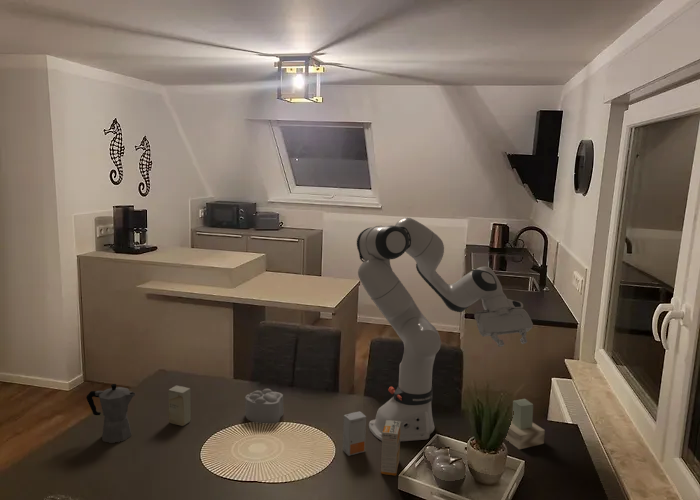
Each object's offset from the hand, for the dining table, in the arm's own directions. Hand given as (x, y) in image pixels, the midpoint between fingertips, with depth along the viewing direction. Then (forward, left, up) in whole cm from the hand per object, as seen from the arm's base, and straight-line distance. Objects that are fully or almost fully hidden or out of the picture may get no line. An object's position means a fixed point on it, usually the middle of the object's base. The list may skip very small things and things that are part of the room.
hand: (513, 344), depth 182 cm
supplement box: (-50, -11, -29) cm, 59 cm away
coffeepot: (-128, +35, -29) cm, 136 cm away
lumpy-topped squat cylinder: (-79, +34, -29) cm, 91 cm away
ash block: (-2, -10, -30) cm, 31 cm away
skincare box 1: (-107, +38, -29) cm, 117 cm away
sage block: (-2, -9, -24) cm, 26 cm away
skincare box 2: (-57, +1, -29) cm, 64 cm away
